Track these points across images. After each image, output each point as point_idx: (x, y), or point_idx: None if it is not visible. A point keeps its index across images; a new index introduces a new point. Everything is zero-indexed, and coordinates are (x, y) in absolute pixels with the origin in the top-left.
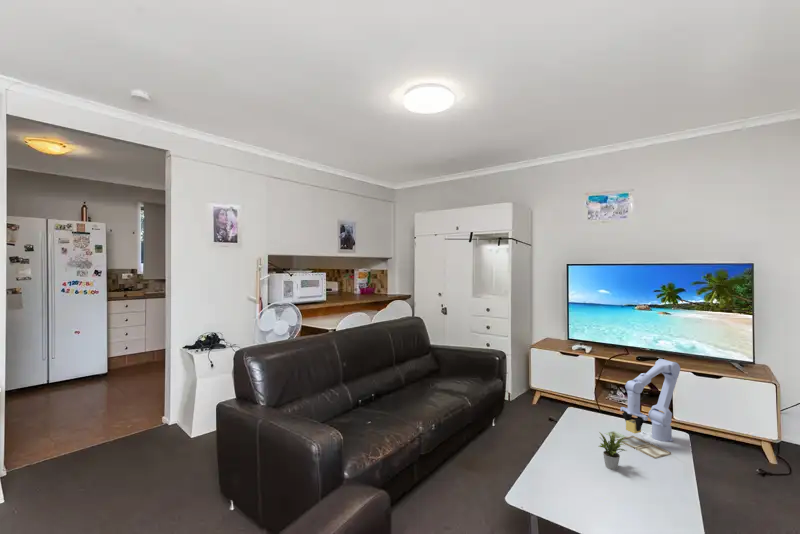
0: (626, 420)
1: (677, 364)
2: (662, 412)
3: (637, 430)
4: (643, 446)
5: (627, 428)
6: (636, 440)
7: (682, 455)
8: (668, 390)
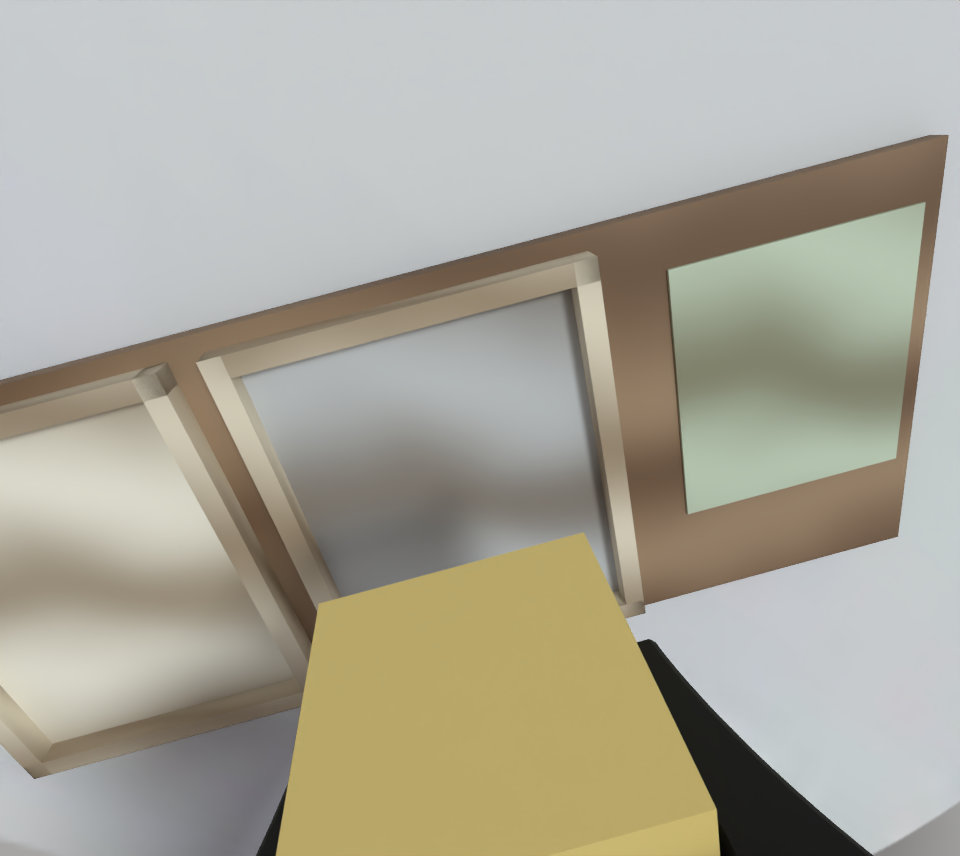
0: (749, 826)
1: None
2: None
3: None
4: (238, 546)
5: (548, 585)
6: None
7: (80, 839)
8: None
